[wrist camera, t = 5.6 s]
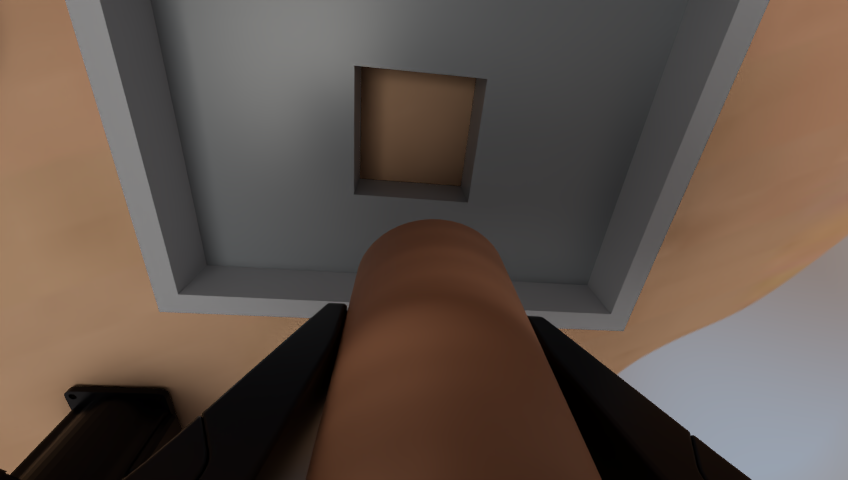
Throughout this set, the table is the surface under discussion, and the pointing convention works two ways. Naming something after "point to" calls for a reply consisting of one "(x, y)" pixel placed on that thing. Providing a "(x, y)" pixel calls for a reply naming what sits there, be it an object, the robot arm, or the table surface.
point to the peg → (442, 371)
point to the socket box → (403, 201)
